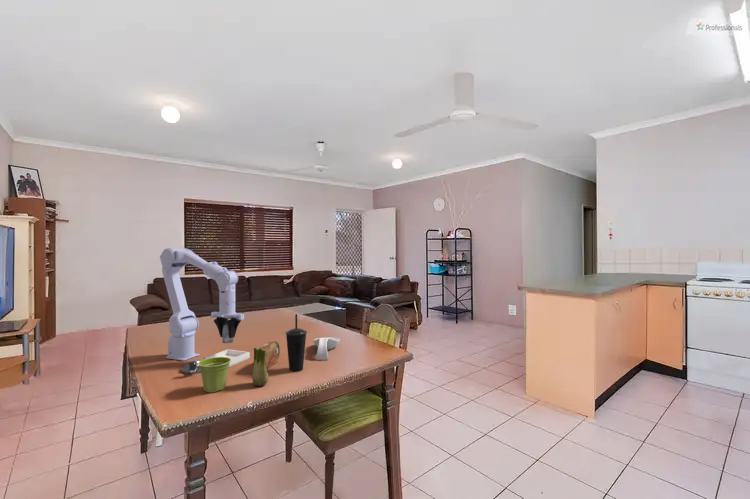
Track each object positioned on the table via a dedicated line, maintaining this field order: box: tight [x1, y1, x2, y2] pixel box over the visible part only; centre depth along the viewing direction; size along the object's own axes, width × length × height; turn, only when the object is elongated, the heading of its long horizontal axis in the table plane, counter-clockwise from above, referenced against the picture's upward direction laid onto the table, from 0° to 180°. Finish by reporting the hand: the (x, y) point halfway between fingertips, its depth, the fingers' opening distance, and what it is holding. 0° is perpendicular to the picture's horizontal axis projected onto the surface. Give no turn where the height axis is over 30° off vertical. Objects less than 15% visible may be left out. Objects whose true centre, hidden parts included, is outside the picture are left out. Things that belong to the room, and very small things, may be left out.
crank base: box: [181, 364, 201, 375], centre depth 127 cm, size 9×9×1 cm
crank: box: [188, 359, 201, 373], centre depth 124 cm, size 10×3×4 cm, turn 19°
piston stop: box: [221, 323, 234, 344], centre depth 136 cm, size 4×4×7 cm
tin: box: [258, 341, 281, 370], centre depth 131 cm, size 15×3×8 cm, turn 168°
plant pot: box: [198, 357, 231, 393], centre depth 110 cm, size 9×9×9 cm
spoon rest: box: [312, 336, 341, 361], centre depth 149 cm, size 24×12×7 cm, turn 3°
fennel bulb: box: [251, 346, 269, 387], centre depth 113 cm, size 6×5×12 cm
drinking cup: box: [284, 314, 308, 373], centre depth 127 cm, size 8×8×20 cm
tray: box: [202, 349, 251, 369], centre depth 136 cm, size 11×12×2 cm
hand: (227, 337), depth 136 cm, fingers closed on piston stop, 4 cm apart
